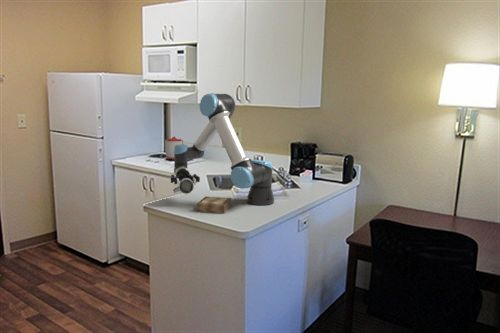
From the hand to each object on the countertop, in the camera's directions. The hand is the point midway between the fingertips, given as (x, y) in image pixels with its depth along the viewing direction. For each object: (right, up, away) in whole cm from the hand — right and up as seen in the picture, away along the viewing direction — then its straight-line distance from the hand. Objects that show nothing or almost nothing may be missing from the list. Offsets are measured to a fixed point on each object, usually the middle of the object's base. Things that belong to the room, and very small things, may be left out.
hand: (186, 182), depth 211 cm
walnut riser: (+14, -13, +2) cm, 19 cm away
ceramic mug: (-3, -5, +5) cm, 8 cm away
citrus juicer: (-33, +15, +148) cm, 153 cm away
